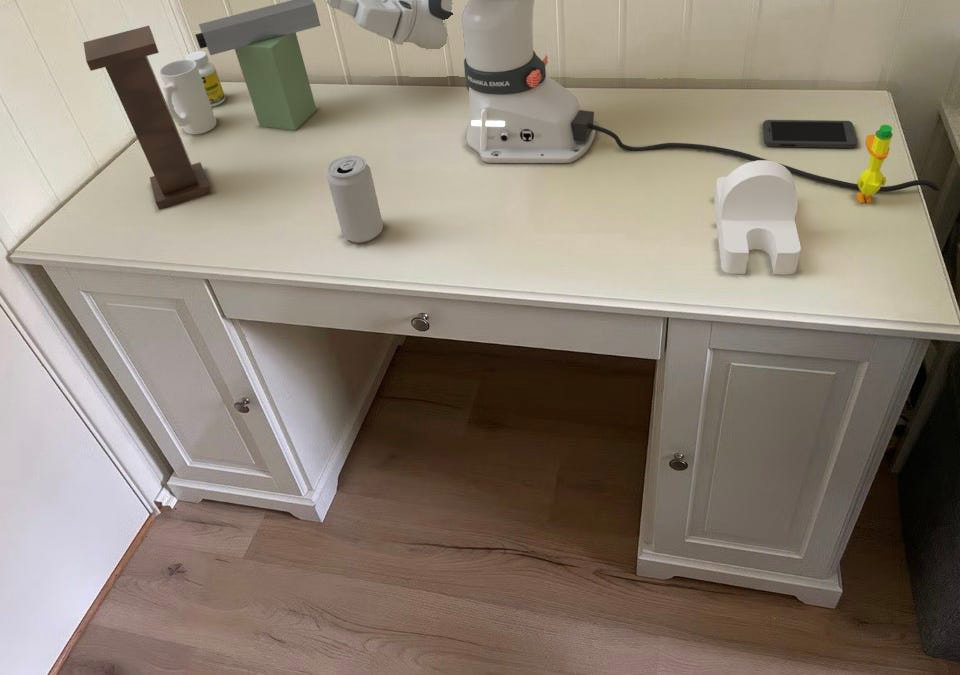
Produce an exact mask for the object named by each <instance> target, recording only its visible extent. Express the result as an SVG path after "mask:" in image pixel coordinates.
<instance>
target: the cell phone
mask: <svg viewBox="0 0 960 675" xmlns="http://www.w3.org/2000/svg"><path fill="white" fill-rule="evenodd" d="M762 133H763V144H764V145H765V146H767V147H771V148H772V147H778V148H779V147H781V148H837V149H839V148H840V149H854V148H856V146H857V144H858V141H857V140H858V139H857V135H856V131H855V126H854V124H853V122H852V121H850V120H830V119H829V120H823V119H822V120H821V119H817V120H816V119H815V120H814V119H809V120H808V119H766V120H763V122H762Z"/></svg>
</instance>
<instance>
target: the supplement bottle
mask: <svg viewBox="0 0 960 675" xmlns="http://www.w3.org/2000/svg"><path fill="white" fill-rule="evenodd" d="M185 59H189V60H193V61H195V62H196V64H197V67H198V70H199V73H200V75H201V78H202V81H203V84H204V87H205V90H206V93H207V96H208V99H209V102H210V104H211V107H212V108H213V107H217V106H220V105H221V104H222V103H224V102H225V100H226V96H225V92H224V89H223V86H222V83H221V80H220V78H219V75H218V71H217V69H216V66H215V64H214V63H213V62H211V61H209V56H208V54H207V52H206V51H203V50H197V51H193V52H190V53H189V54H187V55H186V56H185Z"/></svg>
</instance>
